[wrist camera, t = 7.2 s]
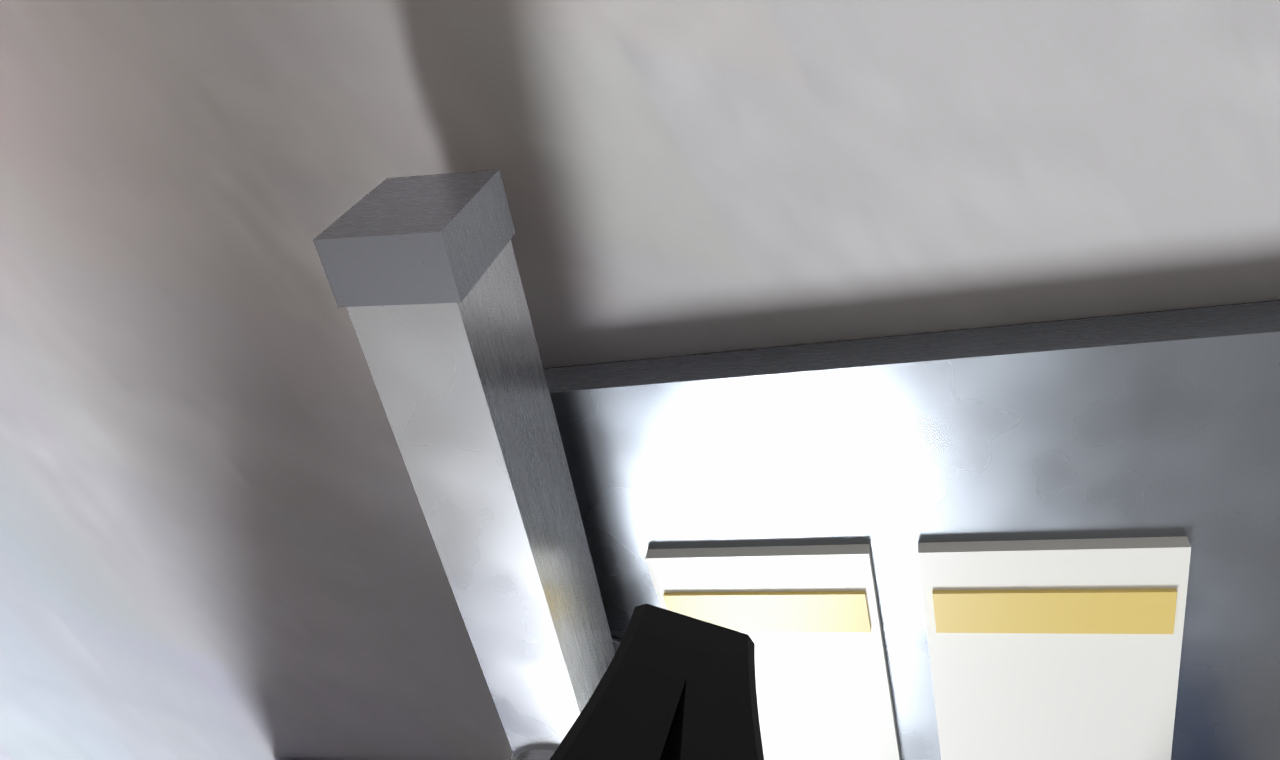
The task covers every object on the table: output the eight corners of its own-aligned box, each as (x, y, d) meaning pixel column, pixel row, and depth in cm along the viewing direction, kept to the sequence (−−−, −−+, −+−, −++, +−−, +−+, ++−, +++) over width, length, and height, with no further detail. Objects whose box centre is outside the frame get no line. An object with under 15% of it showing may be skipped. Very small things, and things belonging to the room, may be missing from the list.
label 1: (721, 784, 25) (719, 797, 25) (647, 549, 21) (643, 561, 21) (905, 795, 24) (906, 809, 24) (869, 544, 19) (869, 556, 19)
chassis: (604, 794, 29) (594, 830, 28) (426, 380, 21) (404, 409, 20) (1255, 838, 23) (1271, 884, 22) (1358, 292, 15) (1389, 328, 14)
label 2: (945, 797, 24) (946, 812, 23) (917, 542, 19) (918, 556, 19) (1161, 810, 22) (1165, 826, 22) (1187, 536, 17) (1192, 550, 17)
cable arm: (654, 724, 24) (626, 839, 21) (555, 714, 25) (517, 825, 22) (522, 161, 16) (452, 238, 13) (380, 172, 17) (287, 247, 14)
